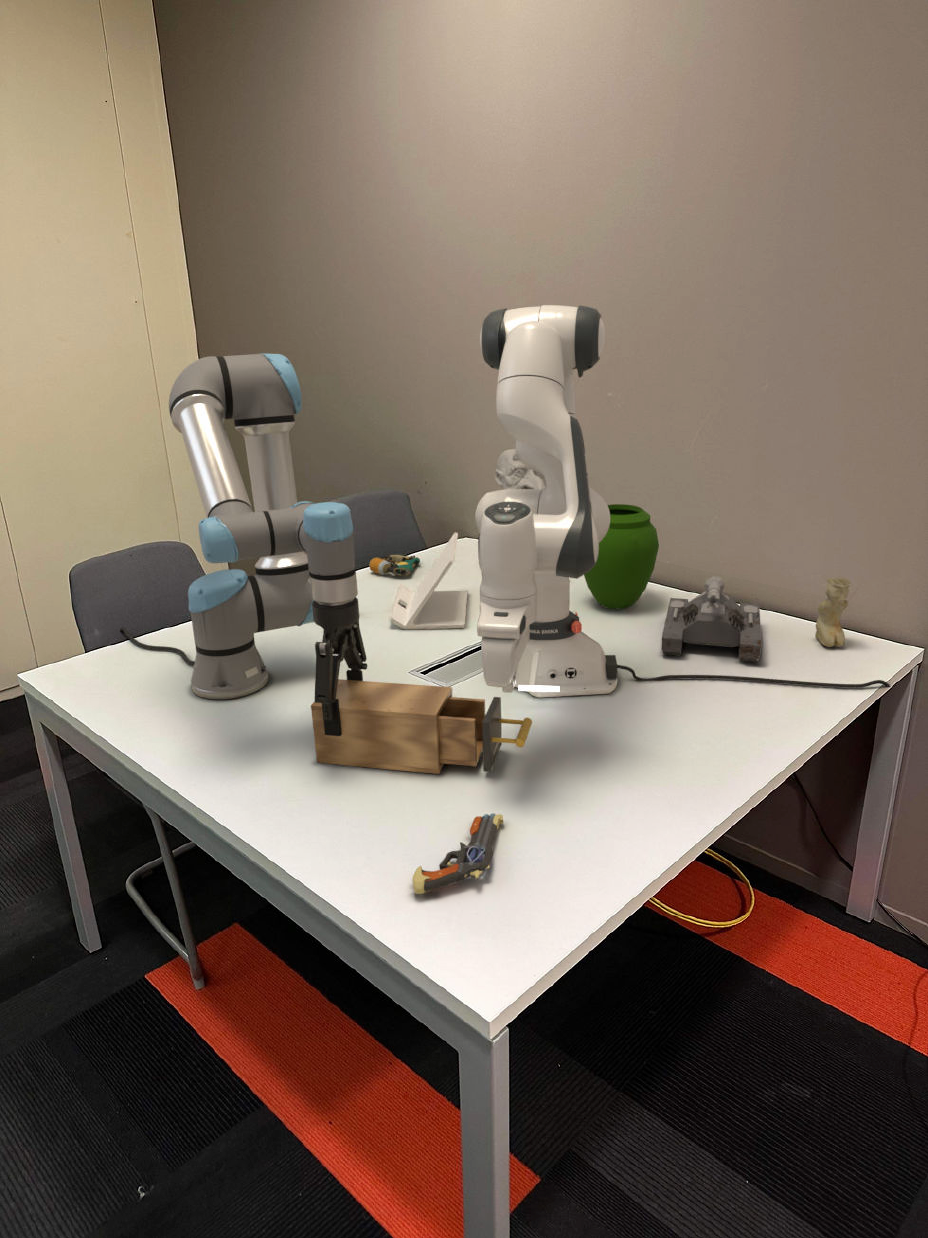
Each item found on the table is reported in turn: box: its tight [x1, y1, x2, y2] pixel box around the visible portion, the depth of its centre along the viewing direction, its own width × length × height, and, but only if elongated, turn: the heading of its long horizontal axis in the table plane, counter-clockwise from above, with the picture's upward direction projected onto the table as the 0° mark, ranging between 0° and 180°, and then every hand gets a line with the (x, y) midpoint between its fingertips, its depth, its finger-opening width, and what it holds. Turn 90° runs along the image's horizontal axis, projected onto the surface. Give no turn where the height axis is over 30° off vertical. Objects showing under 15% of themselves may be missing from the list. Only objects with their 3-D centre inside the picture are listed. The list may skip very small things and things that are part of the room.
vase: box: [583, 503, 660, 610], centre depth 210 cm, size 20×20×24 cm
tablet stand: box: [388, 531, 468, 630], centre depth 211 cm, size 18×25×17 cm
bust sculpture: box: [494, 448, 547, 490], centre depth 231 cm, size 16×24×35 cm
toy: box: [660, 575, 762, 662], centre depth 188 cm, size 25×20×15 cm
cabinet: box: [310, 678, 453, 775], centre depth 146 cm, size 22×11×11 cm, turn 77°
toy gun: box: [412, 812, 504, 895], centre depth 119 cm, size 3×19×10 cm
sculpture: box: [814, 576, 852, 648], centre depth 185 cm, size 6×7×15 cm
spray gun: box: [369, 553, 421, 577], centre depth 246 cm, size 4×17×15 cm
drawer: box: [437, 696, 533, 773], centre depth 143 cm, size 26×10×9 cm, turn 77°
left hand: (345, 719), depth 147 cm, fingers closed on cabinet, 11 cm apart
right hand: (509, 688), depth 138 cm, fingers closed
